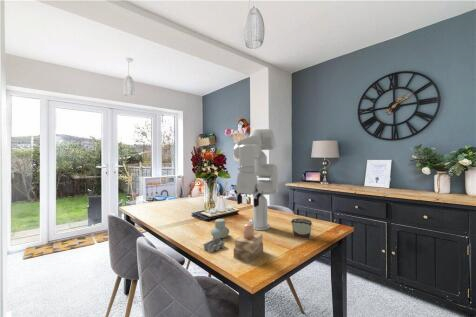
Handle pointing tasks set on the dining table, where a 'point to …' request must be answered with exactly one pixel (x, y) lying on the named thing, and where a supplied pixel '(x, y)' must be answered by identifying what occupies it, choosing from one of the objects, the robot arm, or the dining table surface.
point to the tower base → (248, 254)
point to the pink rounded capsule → (248, 231)
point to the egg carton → (211, 244)
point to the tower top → (248, 243)
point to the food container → (301, 228)
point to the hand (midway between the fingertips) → (247, 205)
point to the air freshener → (220, 229)
